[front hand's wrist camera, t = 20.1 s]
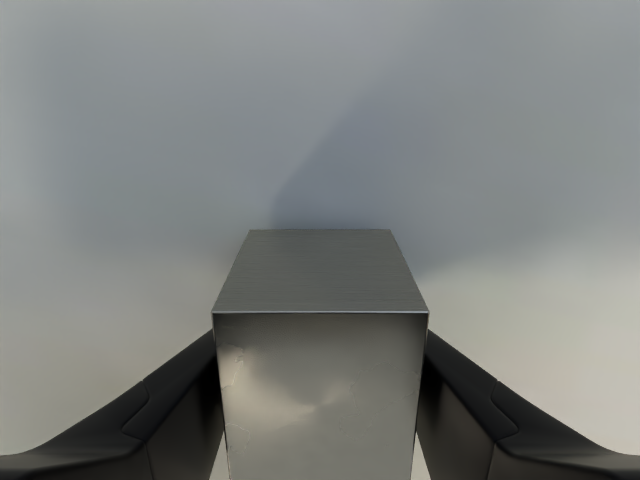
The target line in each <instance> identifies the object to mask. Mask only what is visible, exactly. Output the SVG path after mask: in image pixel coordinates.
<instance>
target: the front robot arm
mask: <svg viewBox="0 0 640 480" xmlns="http://www.w3.org/2000/svg"><path fill="white" fill-rule="evenodd" d="M223 432H224V424H223V415H222V406H221V397H220V388H219V380H218V371H217V362H216V353H215V344H214V335H213V328H212V329H211V330H210V331H208V332H207V333H206V334H204V335H203V336H201V337H200V338H199V339H197V340H196V341H195V342H193V343H192V344H191V345H189V346H188V347H186V348H185V349H184V350H182V351H181V352H180V353H178V354H177V355H176V356H174V357H173V358H171V359H170V360H169V361H167V362H166V363H165V364H163V365H162V366H161V367H159V368H158V369H157V370H155V371H154V372H152V373H151V374H150V375H148V376H147V377H146V378H144V379H143V381H140V382H139V383H137V384H136V385H135V386H133V387H132V388H130V389H129V390H128V391H126V392H125V393H123V394H122V395H120V396H119V397H118V398H116V399H115V400H113V401H112V402H110V403H109V404H107V405H106V406H104V407H102V408H101V409H99V410H98V411H96V412H95V413H93V414H91V415H90V416H88V417H87V418H85V419H83V420H82V421H80V422H78V423H77V424H75V425H74V426H72V427H70V428H69V429H67V430H65V431H64V432H62V433H61V434H59V435H57V436H56V437H54V438H53V439H51V440H49V441H48V442H46V443H44V444H42V445H40V446H38V447H36V448H34V449H31V450H29V451H26V452H22V453H18V454H13V455H2V456H0V480H209V478H210V475H211V471H212V468H213V465H214V461H215V458H216V455H217V451H218V448H219V445H220V442H221V438H222V435H223ZM416 432H417V435H418V438H419V442H420V445H421V448H422V451H423V455H424V458H425V461H426V465H427V468H428V471H429V475H430V478H431V480H640V456H638V455H627V454H622V453H618V452H614V451H611V450H609V449H606V448H604V447H602V446H600V445H598V444H596V443H594V442H592V441H591V440H589V439H587V438H586V437H584V436H583V435H581V434H579V433H578V432H576V431H575V430H573V429H571V428H570V427H568V426H566V425H565V424H563V423H562V422H560V421H558V420H557V419H555V418H553V417H552V416H550V415H549V414H547V413H545V412H544V411H542V410H541V409H539V408H538V407H536V406H534V405H533V404H531V403H530V402H528V401H527V400H525V399H524V398H522V397H521V396H520V395H518V394H517V393H515V392H514V391H512V390H511V389H510V388H508V387H507V386H505V385H504V384H503V383H501V382H500V381H497V379H496V378H494V377H493V376H492V375H490V374H489V373H488V372H486V371H485V370H483V369H482V368H481V367H479V366H478V365H477V364H475V363H474V362H473V361H471V360H470V359H469V358H467V357H466V356H464V355H463V354H462V353H460V352H459V351H458V350H456V349H455V348H454V347H452V346H451V345H449V344H448V343H447V342H445V341H444V340H443V339H441V338H440V337H439V336H437V335H436V334H434V333H433V332H432V331H430V330H429V329H428V330H427V339H426V347H425V356H424V365H423V374H422V382H421V391H420V400H419V409H418V417H417V426H416Z"/></svg>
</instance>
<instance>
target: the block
mask: <svg viewBox="0 0 640 480" xmlns="http://www.w3.org/2000/svg"><path fill="white" fill-rule="evenodd" d="M211 317H212V326H213V335H214V344H215V353H216V362H217V371H218V380H219V388H220V397H221V406H222V415H223V424H224V433H225V442H226V450H227V459H228V468H229V477H230V480H410V479H411V470H412V461H413V453H414V444H415V435H416V426H417V417H418V409H419V400H420V391H421V382H422V374H423V365H424V356H425V347H426V339H427V330H428V321H429V310H428V308H427V306H426V304H425V302H424V299H423V297H422V295H421V293H420V291H419V289H418V287H417V285H416V283H415V281H414V278H413V276H412V274H411V272H410V270H409V268H408V266H407V264H406V262H405V259H404V257H403V255H402V253H401V251H400V249H399V247H398V245H397V243H396V240H395V238H394V236H393V234H392V232H391V230H249V232H248V234H247V236H246V239H245V241H244V243H243V245H242V247H241V249H240V251H239V253H238V256H237V258H236V260H235V262H234V264H233V266H232V268H231V271H230V273H229V275H228V277H227V279H226V281H225V283H224V285H223V288H222V290H221V292H220V294H219V296H218V298H217V300H216V302H215V305H214V307H213V309H212V311H211Z"/></svg>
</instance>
